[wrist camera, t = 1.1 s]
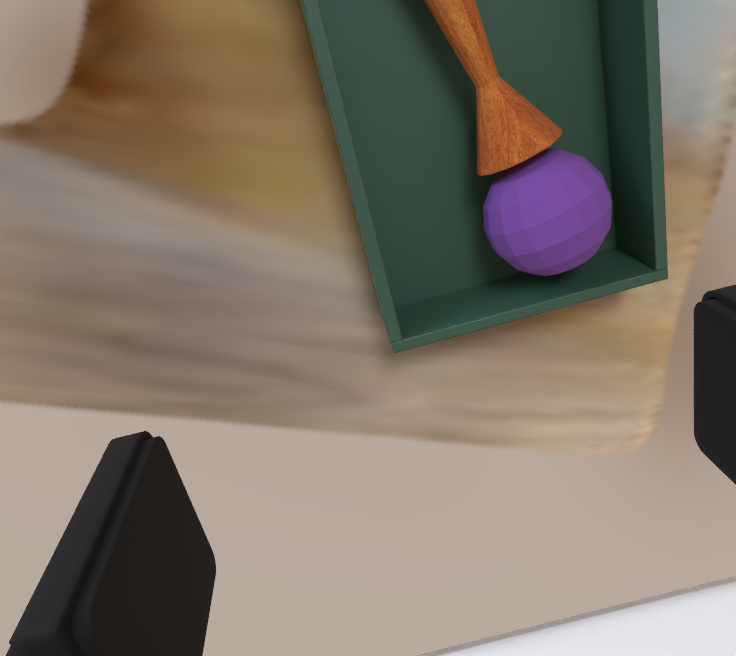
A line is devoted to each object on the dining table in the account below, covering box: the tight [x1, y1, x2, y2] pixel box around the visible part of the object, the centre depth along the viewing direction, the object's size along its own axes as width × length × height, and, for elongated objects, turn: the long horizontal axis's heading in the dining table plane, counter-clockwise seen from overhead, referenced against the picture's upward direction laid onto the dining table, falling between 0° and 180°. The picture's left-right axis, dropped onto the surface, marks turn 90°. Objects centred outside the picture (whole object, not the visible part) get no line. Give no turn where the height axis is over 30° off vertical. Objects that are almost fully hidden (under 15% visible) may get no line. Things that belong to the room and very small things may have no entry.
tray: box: [299, 0, 668, 353], centre depth 28 cm, size 23×14×5 cm, turn 14°
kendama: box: [424, 0, 612, 276], centre depth 27 cm, size 6×6×20 cm
